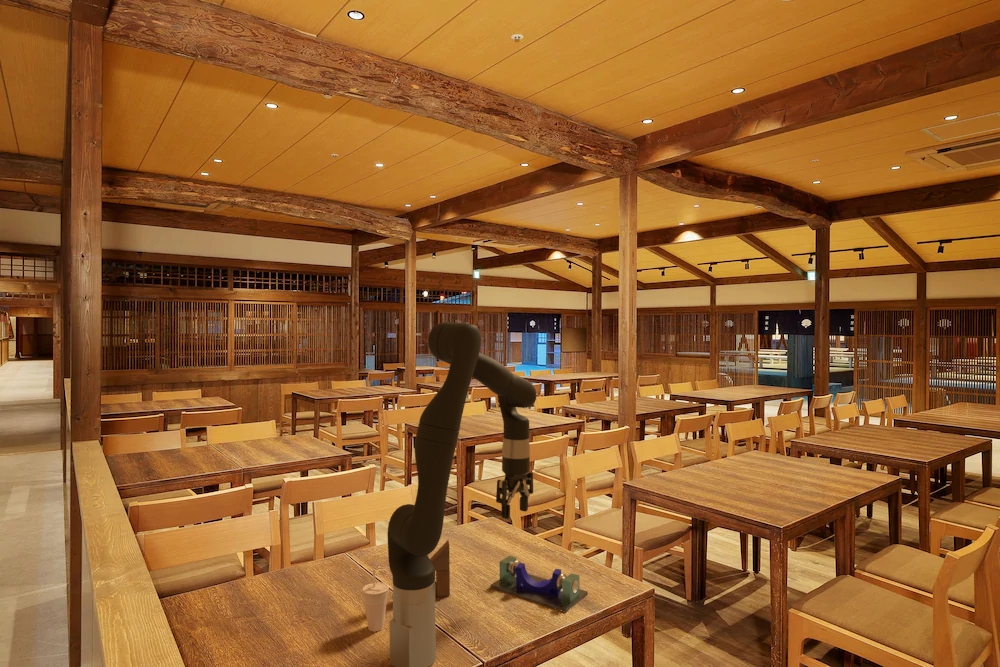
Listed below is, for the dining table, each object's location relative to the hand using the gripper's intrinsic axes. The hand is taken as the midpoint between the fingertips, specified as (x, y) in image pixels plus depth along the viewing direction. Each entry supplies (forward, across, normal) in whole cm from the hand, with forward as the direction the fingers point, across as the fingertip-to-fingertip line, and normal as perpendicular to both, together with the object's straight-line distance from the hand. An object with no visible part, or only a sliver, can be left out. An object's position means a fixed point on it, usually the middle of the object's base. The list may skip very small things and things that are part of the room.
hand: (515, 514), depth 152 cm
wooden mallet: (+23, -13, +19) cm, 32 cm away
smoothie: (+23, -33, +18) cm, 44 cm away
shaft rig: (+22, +6, -4) cm, 23 cm away
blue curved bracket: (+21, +6, -4) cm, 22 cm away
